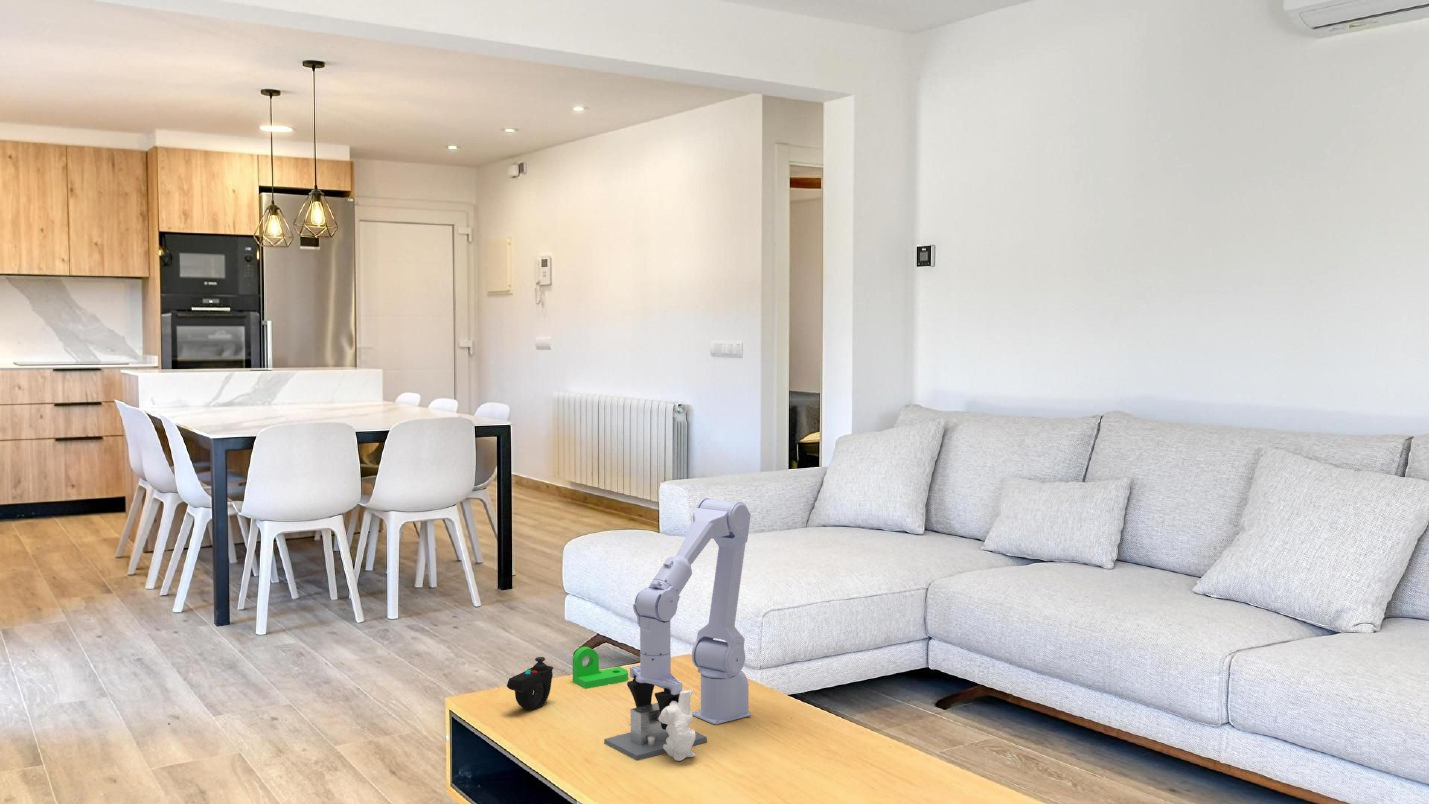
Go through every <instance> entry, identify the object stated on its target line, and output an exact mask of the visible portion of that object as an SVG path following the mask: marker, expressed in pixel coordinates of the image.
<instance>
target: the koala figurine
mask: <svg viewBox="0 0 1429 804" xmlns="http://www.w3.org/2000/svg"><path fill="white" fill-rule="evenodd" d="M682 690H683V689H682ZM693 691H694V689H691V688H689V689H687V690H683V691H681V692H680V696H679V702H678V703H677V702H676V701H672V702H671V703H670V706H667V707H665V708H664V709H663V710H662V712H661V714H660V716H659V718H658V719H659V721H660V722H661V723H665V724H667V725H668V726H667V727H666V731H667V733H668V734H669V737H668V738H667V739H666V743H667V745H666V744H664V745H663V749H664V750H665V751H666V752H667V753H666V754H667V755H668V756H669V757H671V758H673V759H674V761H677V762H679V761H683V760H684V759H686V758H693V757H696V753H695V752H693V751H692V750H691V749H692V747H693V743H694V741H695V737H696V734H695V732H696V731H695V729H694V728H690V726H689V724H691V723H692V722H693V718H694V716H693V715H692V713H693V711H692V710H691V698H692V697H691V696H692V695H693Z"/></svg>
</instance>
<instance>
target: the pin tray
mask: <svg viewBox="0 0 1429 804" xmlns="http://www.w3.org/2000/svg"><path fill="white" fill-rule="evenodd" d="M695 734H696V737H695V741H694V743H693V746H697V745H702V744H705V743H707V742H708V736H706V735H704V734H701V733H699V732H697V731H695ZM603 740H604V741H603V743H604V744H605V745H606V746H608V747H610V748H612V749H614V750H616V751H618V752H620V753H621V754H623V755H626V756H627V757H629V758H631V759H633V760H635V761H642V760H645V759H648V758H653V757H657V756H660V755H664V754H667V752H666V751H665V750H664V749H663V745H664V744H666V745H667V743H666V739H665V740H661V741H657V742H655V737H654V736H649V737H648V744H645V745H642V746H641V745H639V744H637V743H635V742H633V741H631V731H629V732H626V733H624V734H623V733H622V734H619V735H615V736H614V735H613V736H610V737H606V738H603ZM693 746H692V747H693Z"/></svg>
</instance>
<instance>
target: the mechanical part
mask: <svg viewBox="0 0 1429 804" xmlns="http://www.w3.org/2000/svg"><path fill="white" fill-rule="evenodd" d="M586 657H588V662H587V664H586V665H583V661H584V659H585V658H586ZM599 661H600V660H599V654H598V652H597V651H596V650H595V649H593V648H591V647H589V646H581V647H580V648H578V649H576V651H575V652H574V654H573V656H572V683H574V684H576V685H577V686H580V688H583V689H585V690H587V689H592V688H598V687H603V686H609V685H608V684H610V685H614V684H619V683H624V682H628V680H629V671H628V670H627V669H625V668H624V667H622V666H617V667H610V668H606V669H600V665H599V664H600V662H599Z"/></svg>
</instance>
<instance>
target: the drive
mask: <svg viewBox="0 0 1429 804" xmlns="http://www.w3.org/2000/svg"><path fill="white" fill-rule="evenodd" d="M629 713H630V732H631V741H633V742H635V743H637V744H639V745H641V746H642V745H645V744H648V737H649V736H654V737H655V742H657V741H661V740H665V739H667V738H668V737H669V734H668V733H667V731H666V729H665V730H664V729H662V727H661V722H660V721H659V719H658V718H659V716H660V710H659V706H658V702H654V703H651V704H650V705H646V706H642V707H637V708H636V707H633V708H630V712H629Z"/></svg>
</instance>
